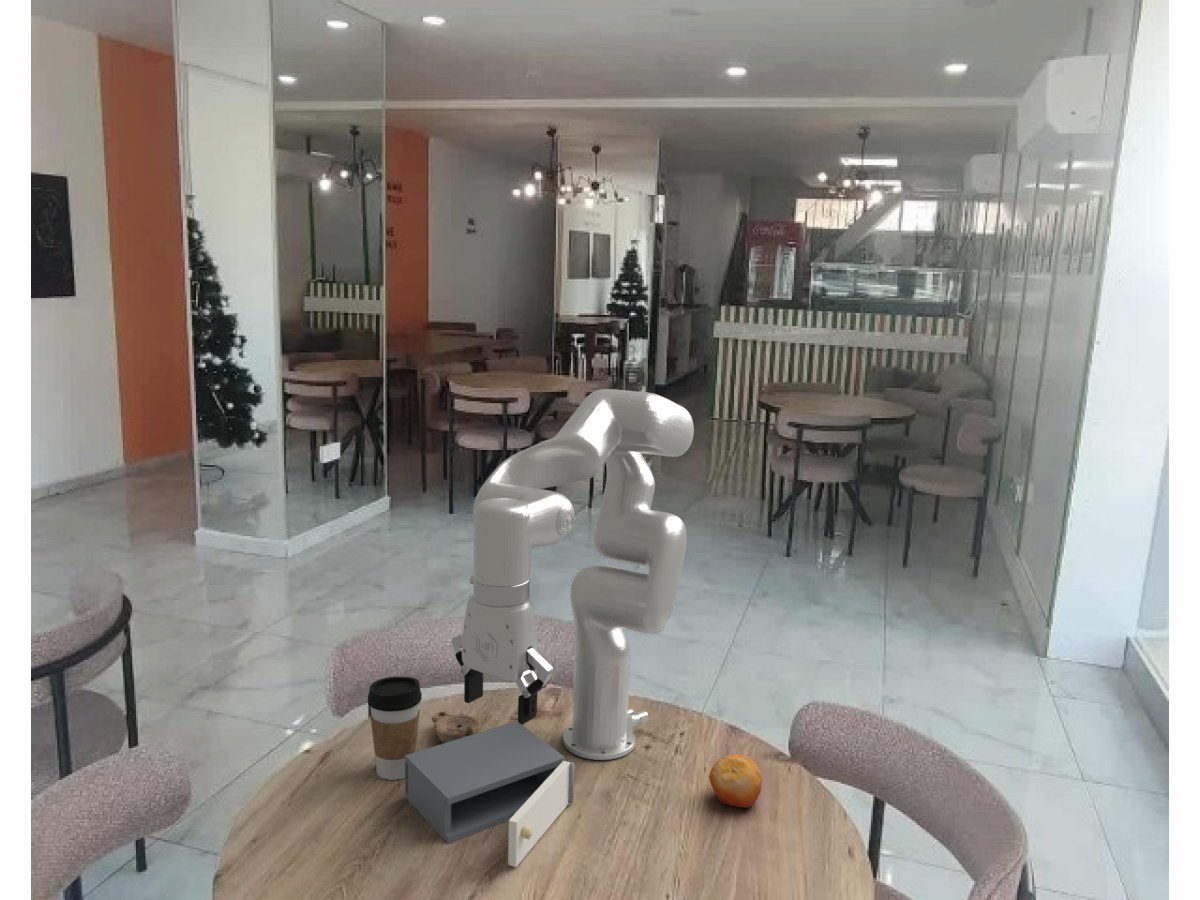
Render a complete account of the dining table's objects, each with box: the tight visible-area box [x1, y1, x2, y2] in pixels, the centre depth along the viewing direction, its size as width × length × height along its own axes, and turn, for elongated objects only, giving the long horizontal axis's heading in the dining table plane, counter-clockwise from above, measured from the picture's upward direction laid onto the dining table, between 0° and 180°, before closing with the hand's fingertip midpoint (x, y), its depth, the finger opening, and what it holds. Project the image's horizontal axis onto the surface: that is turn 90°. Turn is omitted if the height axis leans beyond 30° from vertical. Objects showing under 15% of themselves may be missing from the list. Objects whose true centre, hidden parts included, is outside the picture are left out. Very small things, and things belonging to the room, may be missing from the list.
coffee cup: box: [367, 676, 423, 781], centre depth 144 cm, size 8×8×15 cm
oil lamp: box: [431, 710, 481, 744], centre depth 155 cm, size 13×8×5 cm, turn 36°
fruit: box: [708, 753, 763, 809], centre depth 141 cm, size 8×8×8 cm
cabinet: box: [404, 720, 566, 844], centre depth 138 cm, size 20×14×7 cm
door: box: [507, 760, 575, 868], centre depth 130 cm, size 18×2×7 cm, turn 157°
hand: (499, 709), depth 124 cm, fingers open, 9 cm apart
